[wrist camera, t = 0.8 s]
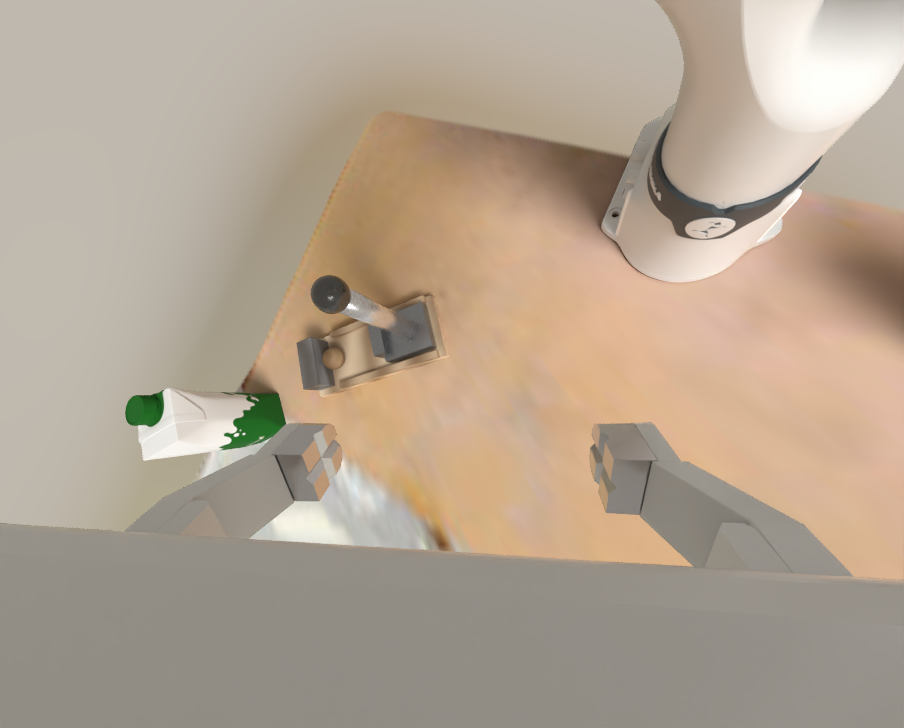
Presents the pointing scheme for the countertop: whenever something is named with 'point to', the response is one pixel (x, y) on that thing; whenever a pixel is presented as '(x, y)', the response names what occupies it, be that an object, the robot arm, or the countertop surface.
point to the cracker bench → (360, 355)
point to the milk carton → (202, 421)
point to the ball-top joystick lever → (378, 319)
